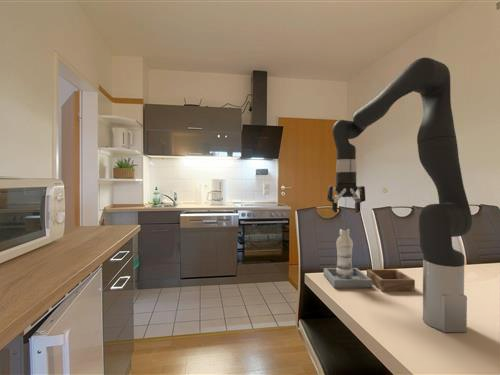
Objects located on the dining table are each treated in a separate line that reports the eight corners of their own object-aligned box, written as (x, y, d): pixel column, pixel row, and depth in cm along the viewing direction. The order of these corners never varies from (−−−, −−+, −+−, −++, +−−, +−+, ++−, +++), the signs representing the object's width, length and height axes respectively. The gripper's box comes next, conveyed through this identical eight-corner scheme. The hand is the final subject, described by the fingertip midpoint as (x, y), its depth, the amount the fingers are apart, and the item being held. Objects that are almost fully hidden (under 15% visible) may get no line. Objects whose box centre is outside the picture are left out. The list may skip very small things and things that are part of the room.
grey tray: (372, 288, 99) (372, 280, 99) (334, 288, 99) (334, 280, 99) (356, 275, 113) (356, 268, 113) (323, 275, 113) (323, 268, 113)
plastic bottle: (350, 277, 109) (350, 228, 108) (355, 283, 102) (355, 231, 102) (334, 276, 110) (334, 227, 109) (337, 282, 103) (337, 230, 103)
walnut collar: (414, 291, 96) (414, 280, 96) (381, 291, 96) (381, 280, 96) (396, 279, 108) (396, 269, 108) (366, 279, 108) (366, 269, 108)
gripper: (331, 171, 101) (331, 213, 102) (368, 170, 102) (368, 213, 102) (325, 171, 109) (325, 211, 109) (360, 171, 109) (360, 211, 109)
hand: (346, 212), depth 105 cm, fingers open, 8 cm apart
